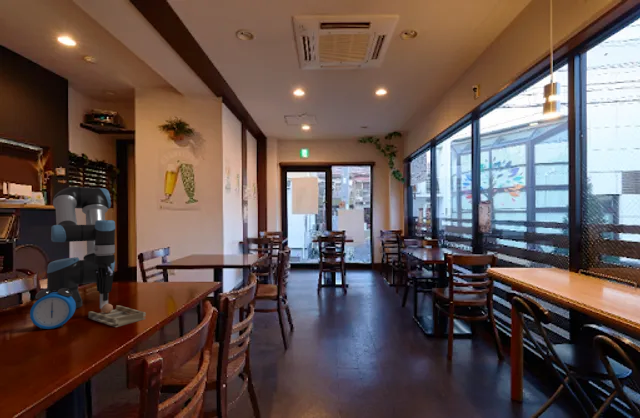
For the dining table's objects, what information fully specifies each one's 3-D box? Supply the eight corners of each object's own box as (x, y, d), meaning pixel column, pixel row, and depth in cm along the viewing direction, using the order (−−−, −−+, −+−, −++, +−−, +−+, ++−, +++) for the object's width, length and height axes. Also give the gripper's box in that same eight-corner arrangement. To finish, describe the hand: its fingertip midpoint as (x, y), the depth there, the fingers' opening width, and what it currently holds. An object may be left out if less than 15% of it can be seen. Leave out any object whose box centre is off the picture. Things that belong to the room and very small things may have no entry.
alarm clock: (28, 332, 121) (29, 292, 121) (35, 327, 126) (36, 288, 127) (71, 327, 126) (72, 288, 127) (75, 322, 132) (76, 285, 132)
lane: (88, 318, 137) (88, 311, 138) (118, 311, 148) (118, 304, 148) (115, 327, 126) (115, 319, 126) (145, 319, 136) (145, 311, 136)
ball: (100, 313, 140) (100, 304, 140) (109, 311, 144) (110, 302, 144) (104, 314, 138) (104, 305, 138) (114, 312, 142) (114, 303, 142)
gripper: (88, 254, 143) (87, 308, 142) (102, 256, 137) (101, 312, 136) (106, 253, 150) (105, 304, 149) (121, 254, 143) (120, 307, 142)
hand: (103, 307), depth 142 cm, fingers closed
